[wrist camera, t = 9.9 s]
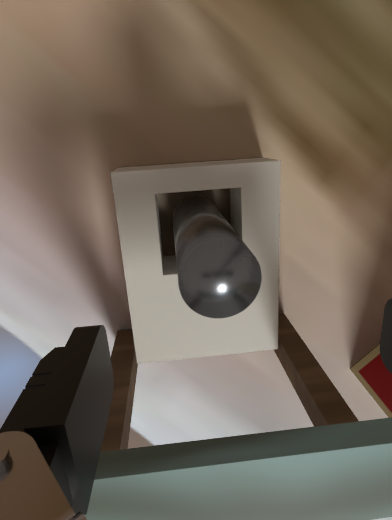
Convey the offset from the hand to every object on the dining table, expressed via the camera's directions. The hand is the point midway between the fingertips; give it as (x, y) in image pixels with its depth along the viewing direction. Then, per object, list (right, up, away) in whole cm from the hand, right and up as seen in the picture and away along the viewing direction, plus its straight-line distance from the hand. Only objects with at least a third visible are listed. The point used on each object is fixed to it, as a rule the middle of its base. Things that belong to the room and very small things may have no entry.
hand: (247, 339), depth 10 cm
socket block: (-1, +3, +16) cm, 17 cm away
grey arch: (-1, -2, +18) cm, 18 cm away
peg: (-1, +5, +16) cm, 16 cm away
